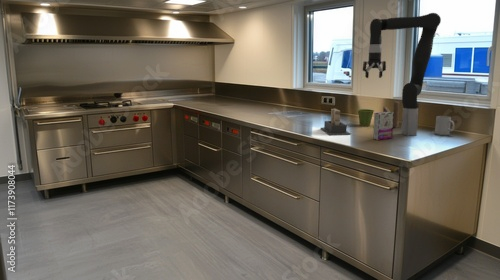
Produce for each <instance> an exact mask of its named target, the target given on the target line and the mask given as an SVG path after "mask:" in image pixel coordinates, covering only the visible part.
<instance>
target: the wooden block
mask: <svg viewBox="0 0 500 280" xmlns="http://www.w3.org/2000/svg"><path fill="white" fill-rule="evenodd" d="M392 111H393V112H394V114H393V129H394V128H395V129H397V128H399V126H400V122H399V116H400V115H399V114H400V113H399V111H400V101H394V102H393V110H392ZM382 112H391V111H390V109H389V108H388V107H387V106H386V105H385V106H383V110H382Z"/></svg>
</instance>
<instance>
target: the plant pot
mask: <svg viewBox="0 0 500 280" xmlns="http://www.w3.org/2000/svg"><path fill="white" fill-rule="evenodd" d="M357 113H358V121H359V126H361V127H369V126H371V122H372V118H373V114H374V113H375V110H374V109H369V108H361V109H360V108H359V109H357Z"/></svg>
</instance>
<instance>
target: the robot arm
mask: <svg viewBox="0 0 500 280" xmlns="http://www.w3.org/2000/svg"><path fill="white" fill-rule="evenodd" d="M441 21H442V19H441V16H440V14H438V13H437V12H430V13H428V14H423V15H419V16H401V17H390V18H389V17H388V18H383V19H382V18H381V19H380V18H374V19H372V20H371V22H370V24H369V25H370V26H369V34H370V35H369V36H370V37H369V47H368V48H369V49H368V61H363V64H362V71H363V72H365V78H366V79H369V76H370V74H369V72H370V70H371V69H377V70H379V72H378V78H379V79H381V78H382V77H383V72H386V70H387V69H386V68H387V65H386V64H387V62H386V61H385V60H383V61H381V60H382V43H383V42H382V39H383V38H382V37H383V36H382V31H387V30H388V31H389V30H391V31H393V30H394V31H395V30H404V29H413V28H421V29H422V31H421V34H420V38H419V41H418V42H417V45H416V48H415V51H414V54H413V57H412V58H413V59H412V76H411V78H410V81H409V82H408V83H405V84H404V86H403V87H402V93H401V97H402V98H401V103H402V115H401V128H400V134H401V135H404V136H407V137H409V136H413V137H414V136H418V135H417V133H418V132H417V131H418V124H419V123H418V118H419V117H418V116H419V108H420V107H419V106H420V105H419V103H418V96H419V95H420V94H421V93H422V89H423V84H424V78H425V75H426V72H427V69H428V65H429V62H430V58H431V55H432V52H433V46H434V45H433V44H434V38H435V35H436V32H437V30H438V27H439V26H440V24H441ZM367 65H368V66H367Z"/></svg>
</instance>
